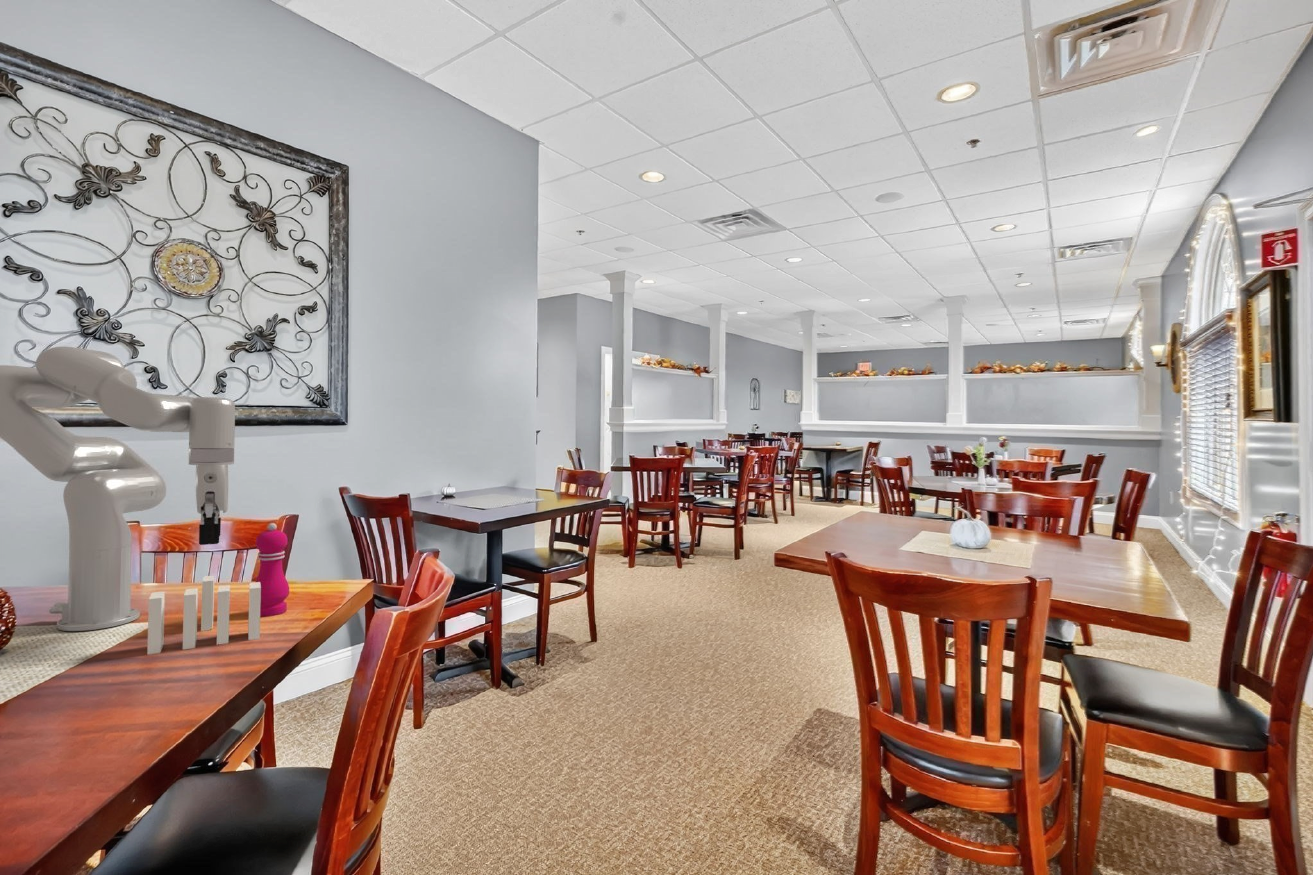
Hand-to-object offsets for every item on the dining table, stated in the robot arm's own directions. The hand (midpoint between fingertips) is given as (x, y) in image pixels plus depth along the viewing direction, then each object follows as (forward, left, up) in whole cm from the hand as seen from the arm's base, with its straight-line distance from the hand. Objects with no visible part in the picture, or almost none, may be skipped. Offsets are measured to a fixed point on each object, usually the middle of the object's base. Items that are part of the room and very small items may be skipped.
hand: (210, 540), depth 123 cm
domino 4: (+12, -5, -18) cm, 22 cm away
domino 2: (+3, -10, -18) cm, 21 cm away
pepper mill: (+7, +10, -18) cm, 22 cm away
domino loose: (0, 0, -18) cm, 18 cm away
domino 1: (-1, -13, -18) cm, 22 cm away
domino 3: (+8, -8, -18) cm, 21 cm away
